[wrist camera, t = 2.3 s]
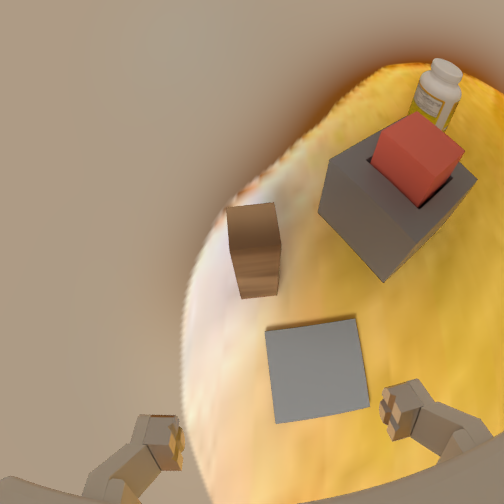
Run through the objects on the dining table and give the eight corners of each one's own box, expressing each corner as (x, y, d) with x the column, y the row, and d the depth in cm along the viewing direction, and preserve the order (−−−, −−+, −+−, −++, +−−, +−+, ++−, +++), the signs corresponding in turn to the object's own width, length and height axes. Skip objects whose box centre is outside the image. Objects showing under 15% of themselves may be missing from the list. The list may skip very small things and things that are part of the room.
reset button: (403, 144, 30) (416, 111, 26) (445, 182, 28) (465, 151, 23) (368, 167, 29) (381, 130, 24) (414, 210, 26) (435, 177, 22)
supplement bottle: (433, 119, 44) (457, 60, 32) (446, 146, 41) (477, 85, 29) (399, 114, 44) (420, 50, 33) (411, 142, 41) (438, 74, 30)
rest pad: (264, 332, 30) (264, 331, 30) (353, 319, 30) (355, 318, 30) (275, 423, 26) (275, 423, 26) (368, 406, 26) (369, 406, 26)
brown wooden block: (238, 266, 34) (226, 207, 24) (272, 262, 34) (274, 202, 24) (241, 299, 32) (229, 250, 22) (276, 295, 32) (281, 244, 22)
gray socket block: (386, 165, 39) (405, 116, 31) (444, 222, 35) (477, 179, 27) (317, 212, 36) (329, 159, 28) (383, 282, 32) (416, 243, 24)
